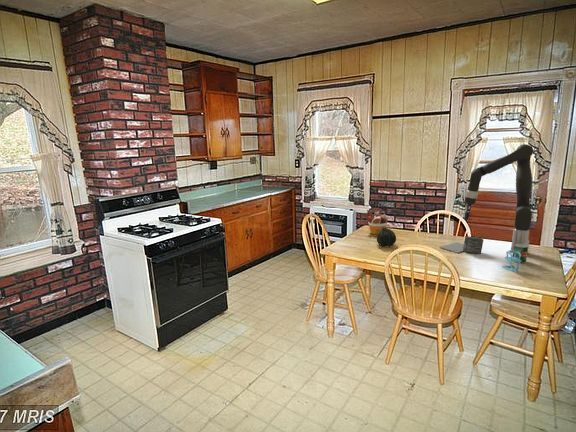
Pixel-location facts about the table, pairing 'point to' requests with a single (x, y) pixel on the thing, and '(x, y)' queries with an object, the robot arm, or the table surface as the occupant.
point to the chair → (512, 260)
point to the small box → (473, 244)
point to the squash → (386, 237)
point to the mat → (454, 247)
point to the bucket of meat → (376, 222)
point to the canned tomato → (521, 252)
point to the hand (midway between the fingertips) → (466, 218)
